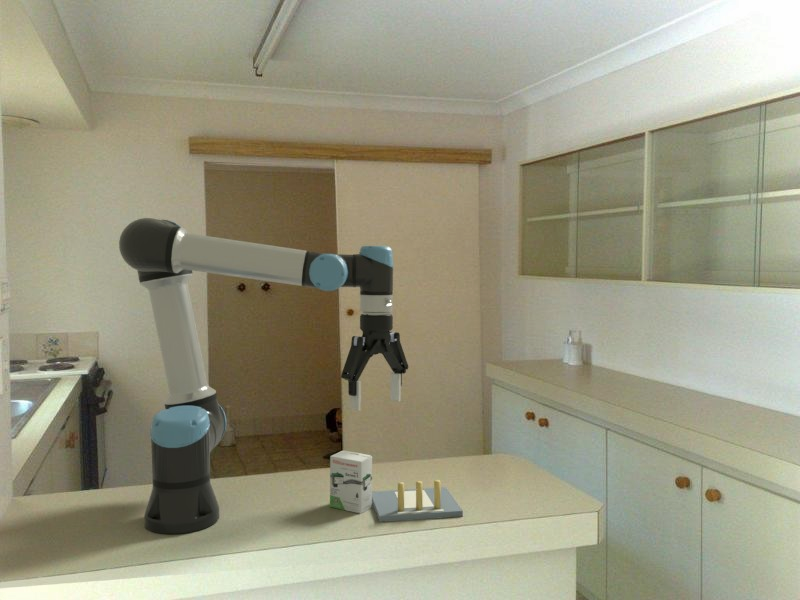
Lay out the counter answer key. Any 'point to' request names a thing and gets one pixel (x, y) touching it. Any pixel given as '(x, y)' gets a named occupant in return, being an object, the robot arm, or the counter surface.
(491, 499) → the counter surface
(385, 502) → the board
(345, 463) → the ink box
